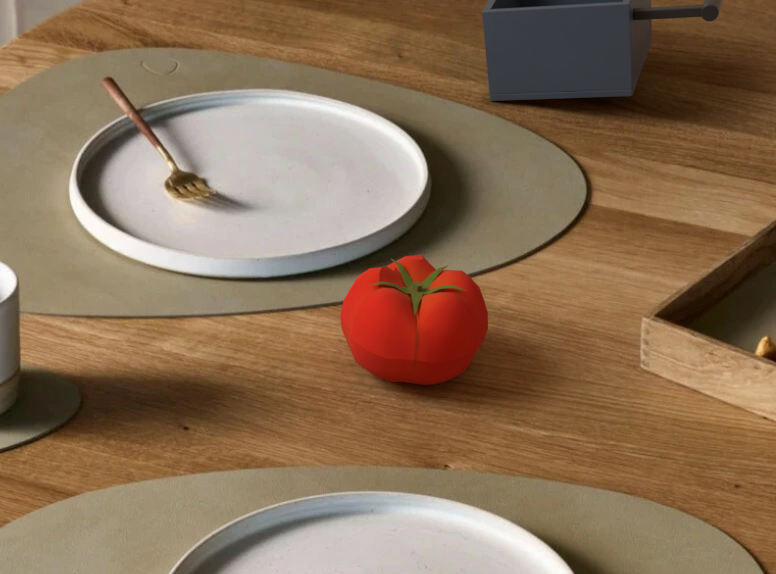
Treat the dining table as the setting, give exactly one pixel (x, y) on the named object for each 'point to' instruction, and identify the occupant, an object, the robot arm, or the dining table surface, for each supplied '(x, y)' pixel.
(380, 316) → the tomato
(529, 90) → the handled storage bin
